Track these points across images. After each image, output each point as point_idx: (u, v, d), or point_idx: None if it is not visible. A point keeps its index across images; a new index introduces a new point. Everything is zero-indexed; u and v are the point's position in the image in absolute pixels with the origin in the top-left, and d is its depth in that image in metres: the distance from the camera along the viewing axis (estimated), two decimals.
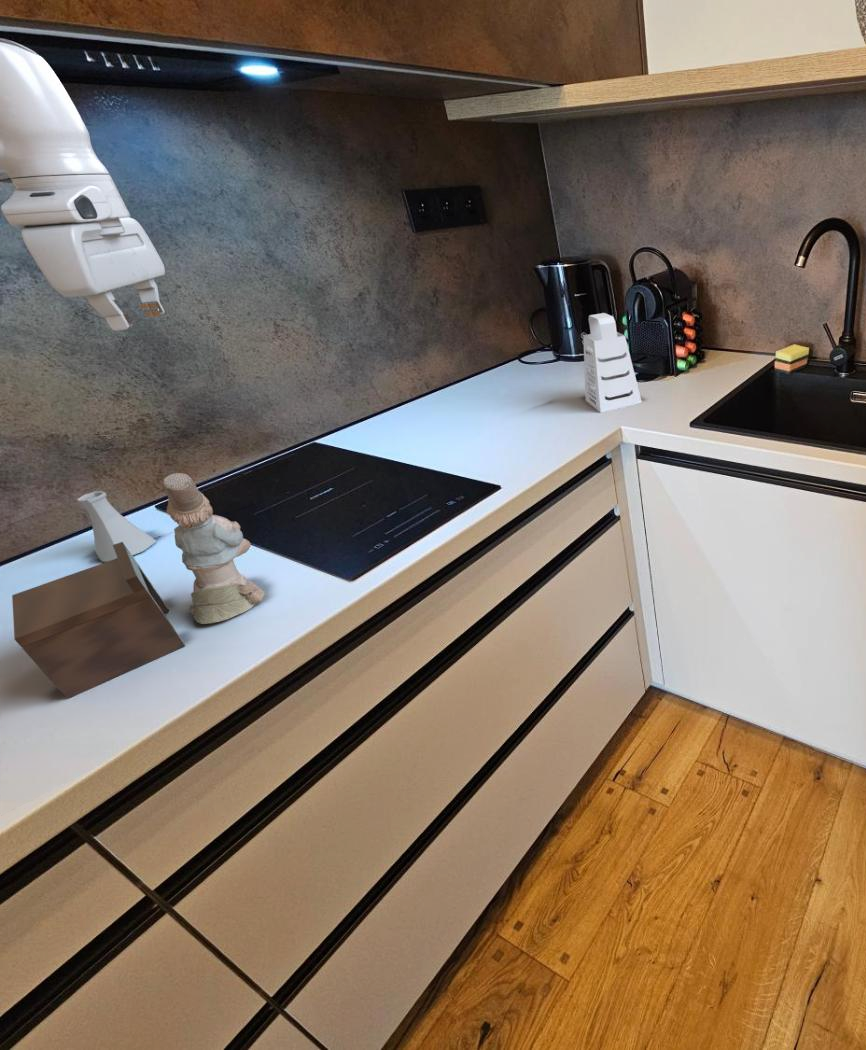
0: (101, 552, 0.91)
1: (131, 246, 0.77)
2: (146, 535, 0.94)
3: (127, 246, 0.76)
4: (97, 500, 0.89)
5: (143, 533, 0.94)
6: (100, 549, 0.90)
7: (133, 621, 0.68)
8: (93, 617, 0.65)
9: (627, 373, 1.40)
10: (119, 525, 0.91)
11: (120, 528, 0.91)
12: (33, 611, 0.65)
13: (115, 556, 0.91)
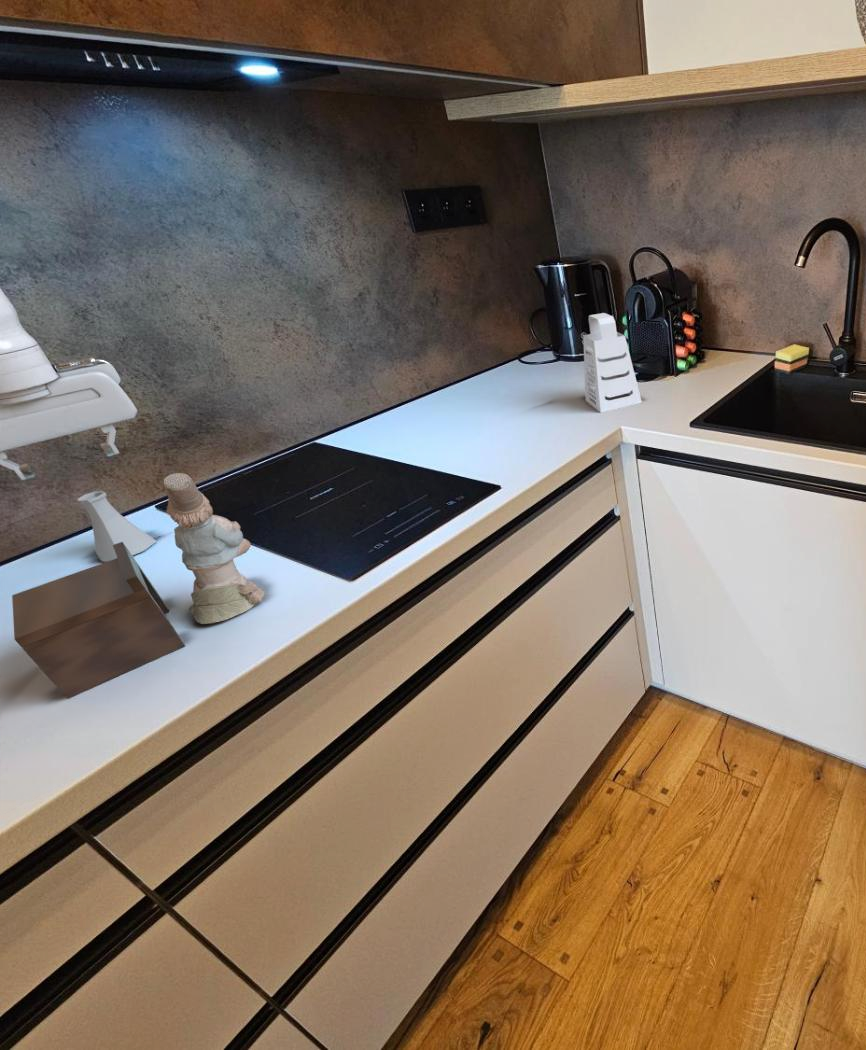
0: (101, 552, 0.91)
1: (71, 402, 0.83)
2: (146, 535, 0.94)
3: (61, 404, 0.82)
4: (97, 500, 0.89)
5: (143, 533, 0.94)
6: (100, 549, 0.90)
7: (133, 621, 0.68)
8: (93, 617, 0.65)
9: (627, 373, 1.40)
10: (119, 525, 0.91)
11: (120, 528, 0.91)
12: (33, 611, 0.65)
13: (115, 556, 0.91)
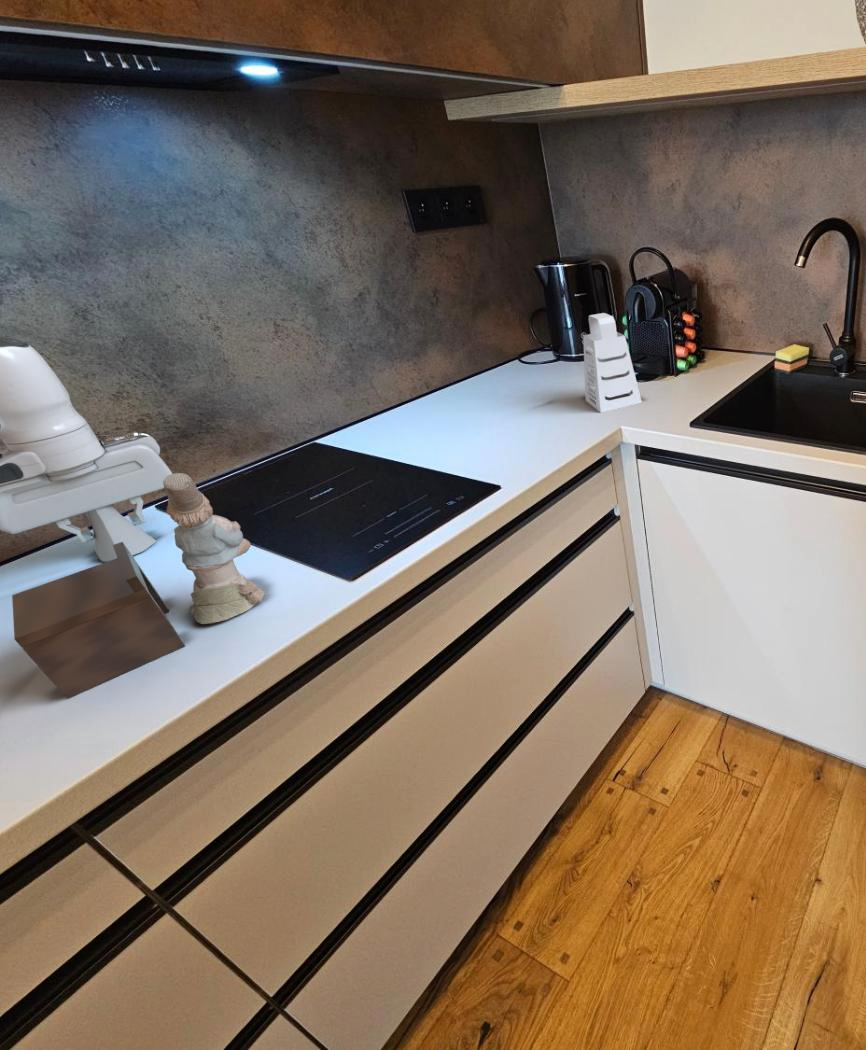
0: (101, 552, 0.91)
1: (116, 474, 0.89)
2: (146, 535, 0.94)
3: (107, 477, 0.88)
4: None
5: (143, 533, 0.94)
6: (100, 549, 0.90)
7: (133, 621, 0.68)
8: (93, 617, 0.65)
9: (627, 373, 1.40)
10: (119, 525, 0.91)
11: (120, 528, 0.91)
12: (33, 611, 0.65)
13: (115, 556, 0.91)
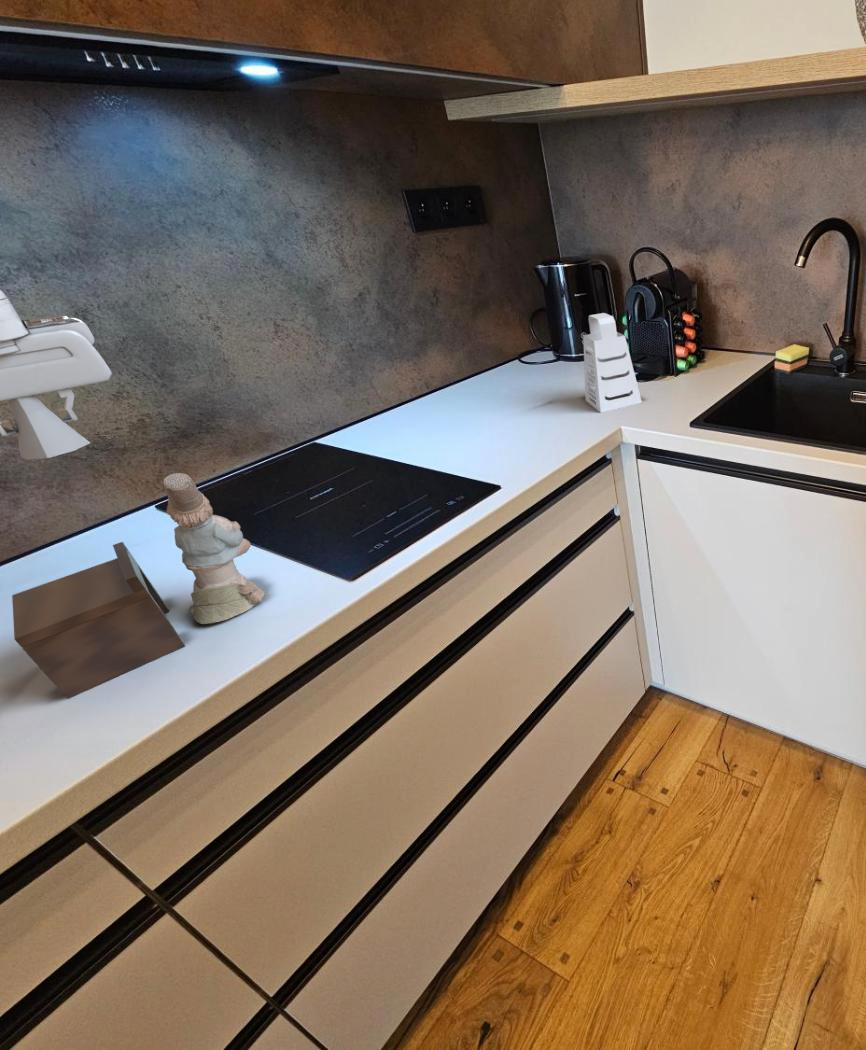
0: (24, 449, 0.81)
1: (41, 360, 0.80)
2: (78, 435, 0.85)
3: (30, 362, 0.79)
4: None
5: (74, 432, 0.85)
6: (23, 445, 0.81)
7: (133, 621, 0.68)
8: (93, 617, 0.65)
9: (627, 373, 1.40)
10: (45, 419, 0.82)
11: (47, 423, 0.82)
12: (33, 611, 0.65)
13: (40, 454, 0.82)
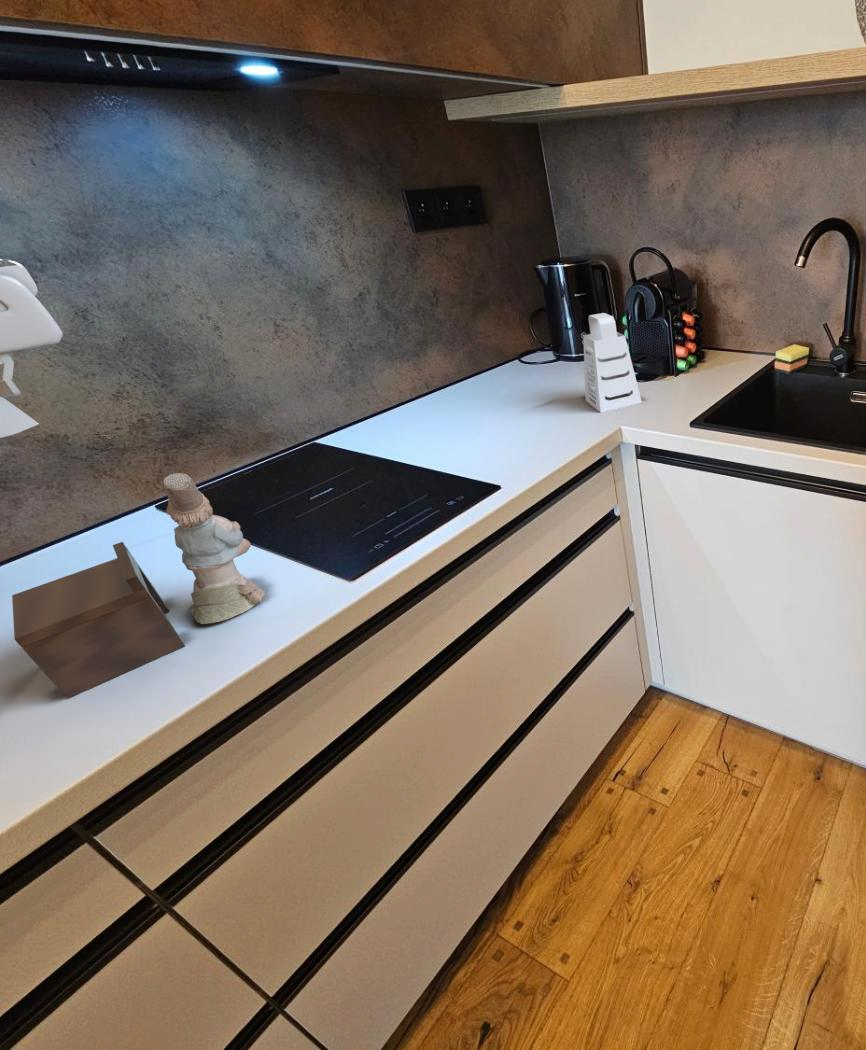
0: None
1: None
2: (22, 413, 0.66)
3: None
4: None
5: (17, 410, 0.66)
6: None
7: (133, 621, 0.68)
8: (93, 617, 0.65)
9: (627, 373, 1.40)
10: None
11: None
12: (33, 611, 0.65)
13: None
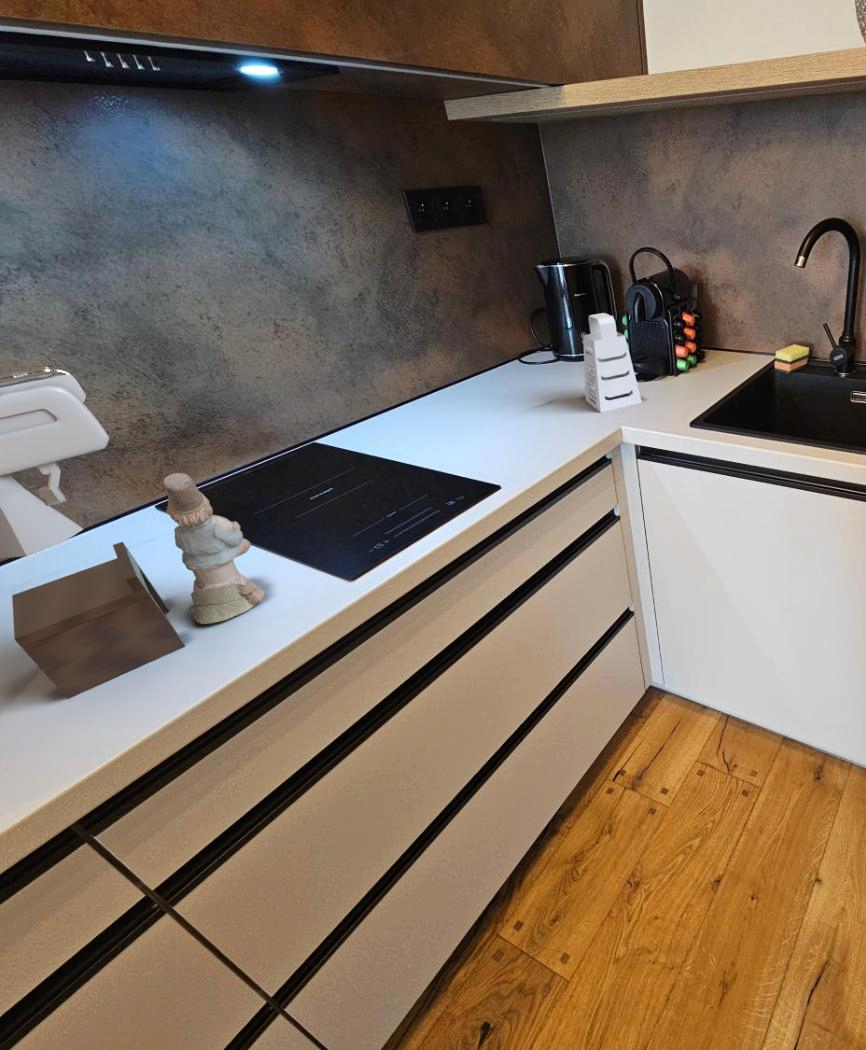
0: None
1: (15, 429, 0.60)
2: (67, 520, 0.65)
3: (0, 432, 0.59)
4: None
5: (62, 517, 0.65)
6: None
7: (133, 621, 0.68)
8: (93, 617, 0.65)
9: (627, 373, 1.40)
10: (22, 505, 0.62)
11: (24, 509, 0.62)
12: (33, 611, 0.65)
13: (17, 550, 0.61)
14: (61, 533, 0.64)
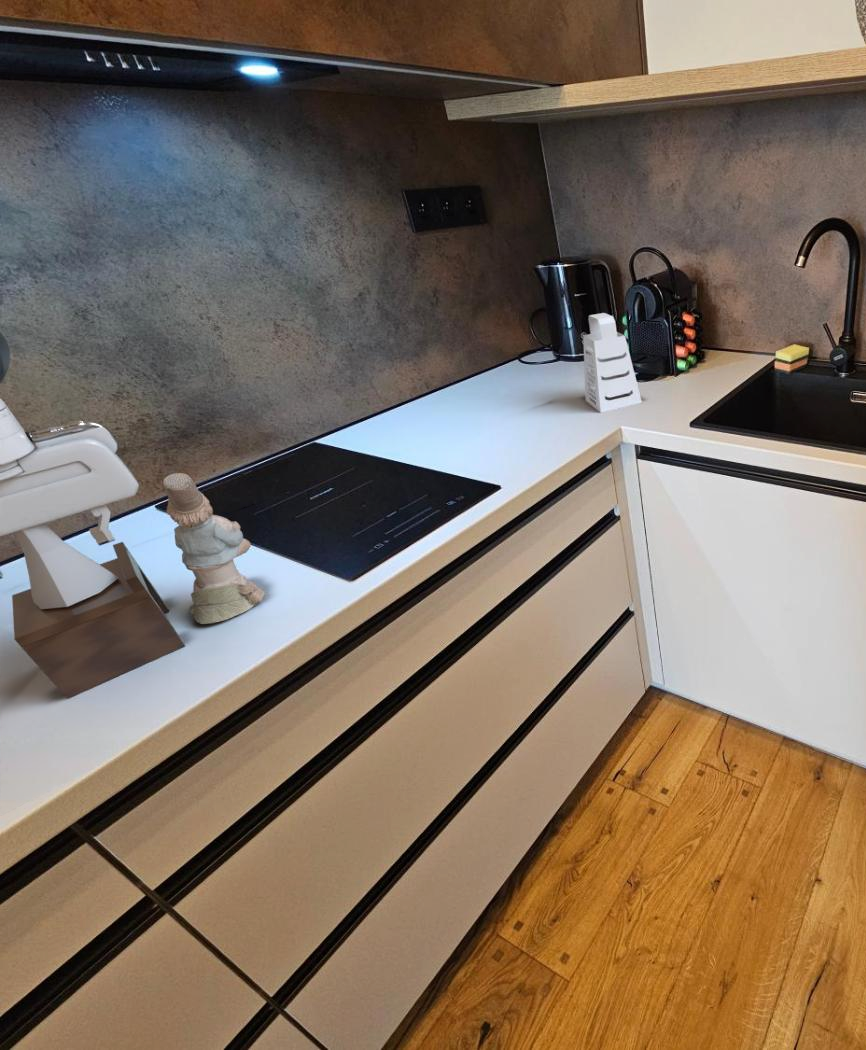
0: (38, 596, 0.65)
1: (52, 480, 0.63)
2: (103, 570, 0.68)
3: (38, 484, 0.62)
4: None
5: (99, 568, 0.68)
6: (37, 592, 0.65)
7: (133, 621, 0.68)
8: (93, 617, 0.65)
9: (627, 373, 1.40)
10: (63, 558, 0.65)
11: (65, 563, 0.65)
12: (33, 611, 0.65)
13: (58, 602, 0.65)
14: (98, 583, 0.67)
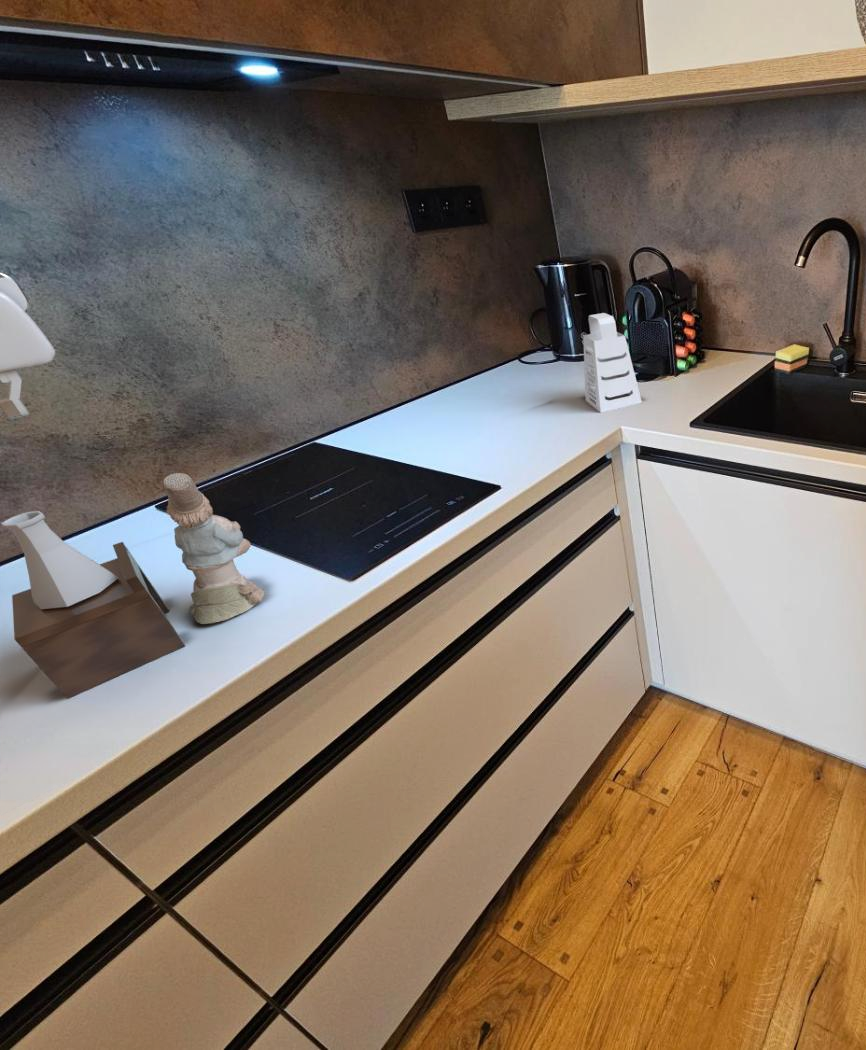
0: (38, 596, 0.65)
1: None
2: (103, 570, 0.68)
3: None
4: (31, 525, 0.63)
5: (99, 568, 0.68)
6: (37, 592, 0.65)
7: (133, 621, 0.68)
8: (93, 617, 0.65)
9: (627, 373, 1.40)
10: (63, 558, 0.65)
11: (65, 563, 0.65)
12: (33, 611, 0.65)
13: (58, 602, 0.65)
14: (98, 583, 0.67)
